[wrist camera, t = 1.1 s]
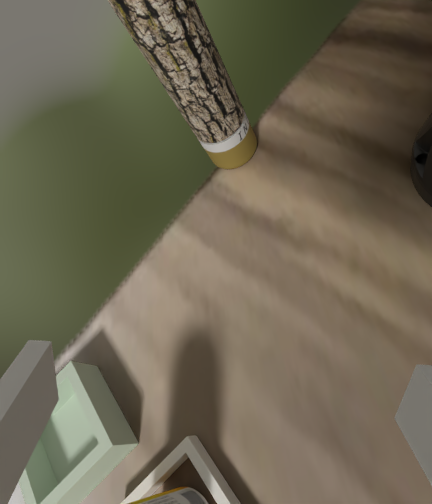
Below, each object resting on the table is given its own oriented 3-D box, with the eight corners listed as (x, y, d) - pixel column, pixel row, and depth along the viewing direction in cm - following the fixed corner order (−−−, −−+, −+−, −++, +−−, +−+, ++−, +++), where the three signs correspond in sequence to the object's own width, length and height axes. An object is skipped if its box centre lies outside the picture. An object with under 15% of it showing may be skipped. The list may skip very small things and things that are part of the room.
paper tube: (217, 179, 49) (96, 1, 28) (209, 144, 53) (95, -38, 32) (264, 159, 47) (171, -47, 27) (252, 124, 51) (161, -83, 30)
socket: (97, 366, 45) (70, 360, 41) (138, 443, 38) (112, 445, 35) (34, 429, 44) (2, 429, 41) (66, 516, 38) (32, 526, 35)
